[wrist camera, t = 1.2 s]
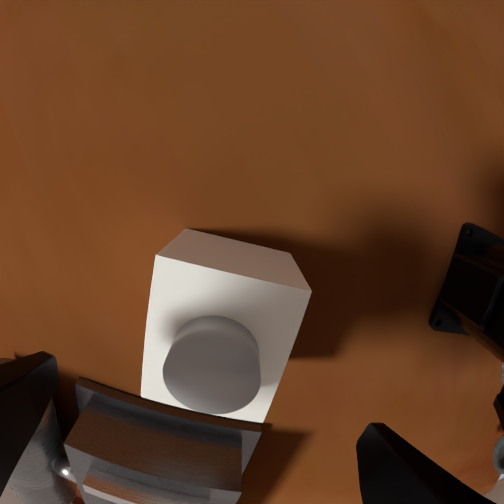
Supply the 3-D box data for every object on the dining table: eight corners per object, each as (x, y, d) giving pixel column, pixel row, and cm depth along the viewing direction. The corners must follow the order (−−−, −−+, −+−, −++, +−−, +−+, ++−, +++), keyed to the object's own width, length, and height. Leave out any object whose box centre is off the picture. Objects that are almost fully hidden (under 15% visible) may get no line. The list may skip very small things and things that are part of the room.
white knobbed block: (290, 252, 14) (322, 311, 8) (258, 357, 16) (264, 449, 9) (186, 228, 14) (140, 269, 8) (167, 337, 15) (130, 421, 9)
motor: (261, 423, 17) (267, 515, 10) (221, 510, 20) (218, 568, 13) (-5, 335, 15) (-61, 383, 8) (28, 446, 18) (1, 490, 12)
